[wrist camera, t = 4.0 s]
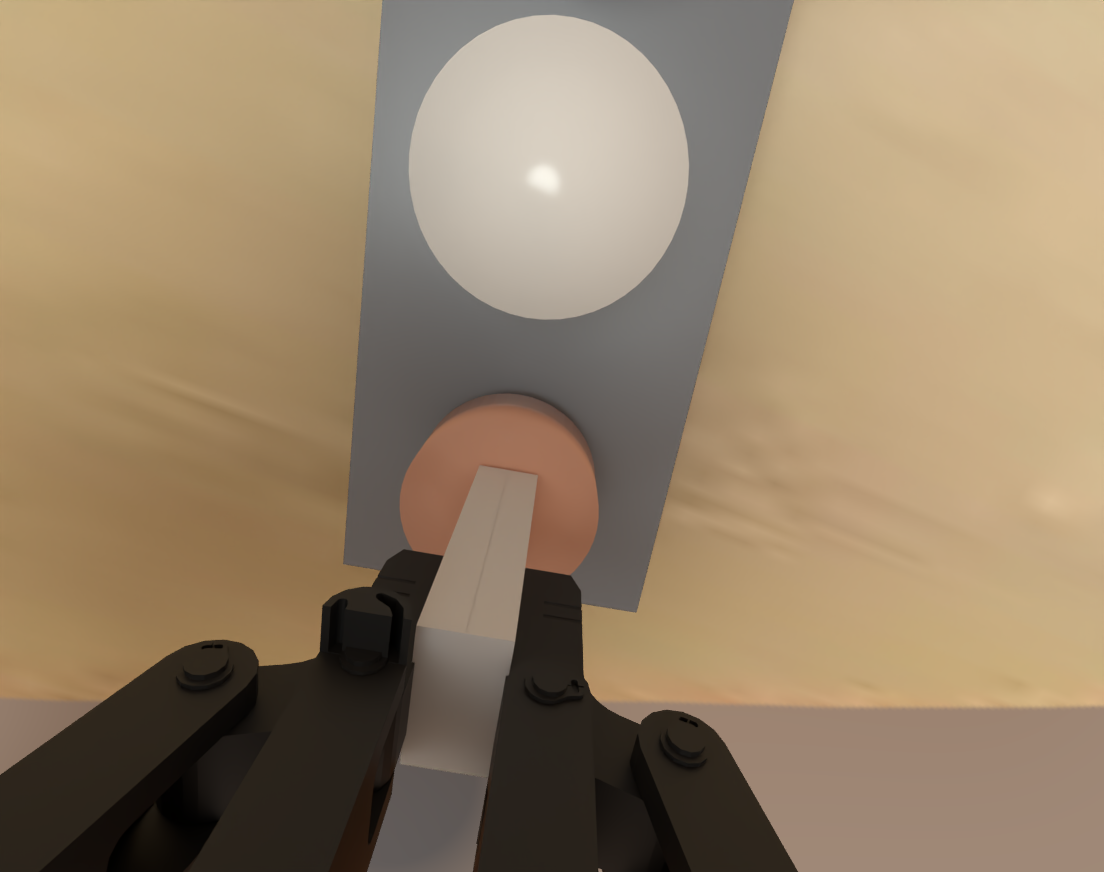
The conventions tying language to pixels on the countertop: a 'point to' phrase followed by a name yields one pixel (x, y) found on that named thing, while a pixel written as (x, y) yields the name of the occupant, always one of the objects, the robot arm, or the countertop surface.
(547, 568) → the terracotta key
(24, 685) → the countertop surface
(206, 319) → the countertop surface
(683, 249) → the key panel
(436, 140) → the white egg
